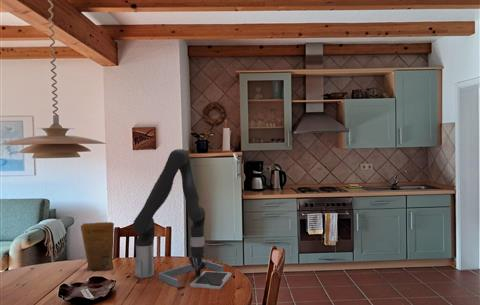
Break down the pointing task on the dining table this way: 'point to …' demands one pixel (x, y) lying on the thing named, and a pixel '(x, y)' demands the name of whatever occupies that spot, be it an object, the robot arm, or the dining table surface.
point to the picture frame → (211, 279)
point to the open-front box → (168, 278)
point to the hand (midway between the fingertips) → (198, 276)
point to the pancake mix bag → (98, 245)
